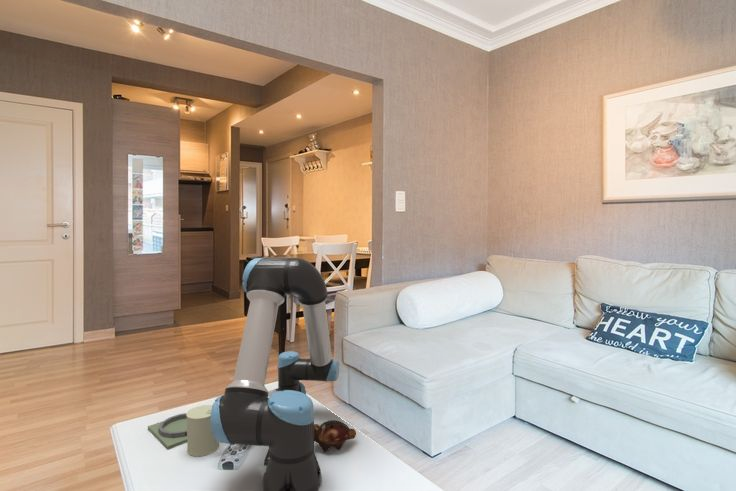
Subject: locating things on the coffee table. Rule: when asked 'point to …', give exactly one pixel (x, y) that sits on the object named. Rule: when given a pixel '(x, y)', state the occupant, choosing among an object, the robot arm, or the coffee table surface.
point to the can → (200, 432)
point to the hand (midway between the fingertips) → (204, 426)
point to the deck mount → (171, 431)
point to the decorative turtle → (332, 434)
